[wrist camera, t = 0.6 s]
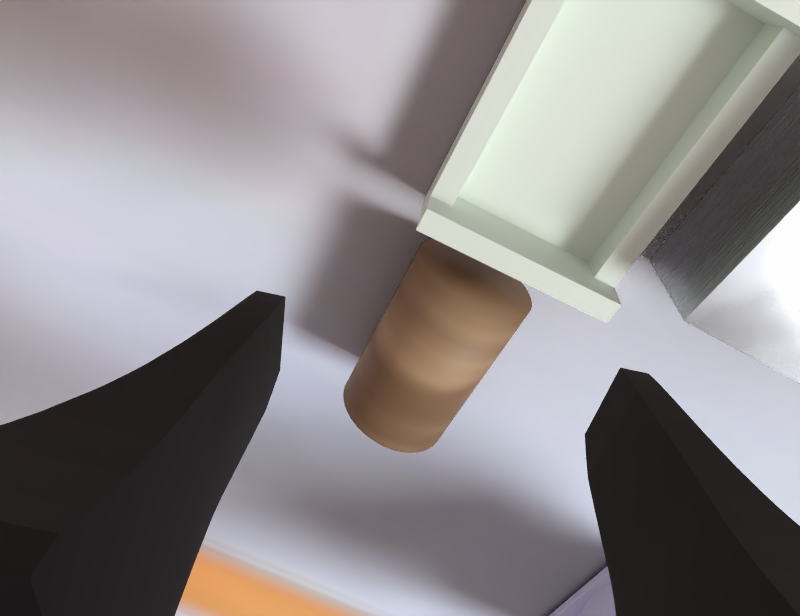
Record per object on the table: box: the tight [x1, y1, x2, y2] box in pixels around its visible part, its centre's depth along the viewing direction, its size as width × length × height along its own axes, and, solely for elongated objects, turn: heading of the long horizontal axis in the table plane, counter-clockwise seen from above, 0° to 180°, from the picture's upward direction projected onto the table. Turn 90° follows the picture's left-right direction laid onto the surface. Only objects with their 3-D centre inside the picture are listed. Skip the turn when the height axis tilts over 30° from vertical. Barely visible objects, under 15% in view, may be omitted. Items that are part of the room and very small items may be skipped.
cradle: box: [416, 0, 800, 324], centre depth 17 cm, size 10×7×3 cm
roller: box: [343, 238, 532, 453], centre depth 21 cm, size 7×4×4 cm, turn 155°
